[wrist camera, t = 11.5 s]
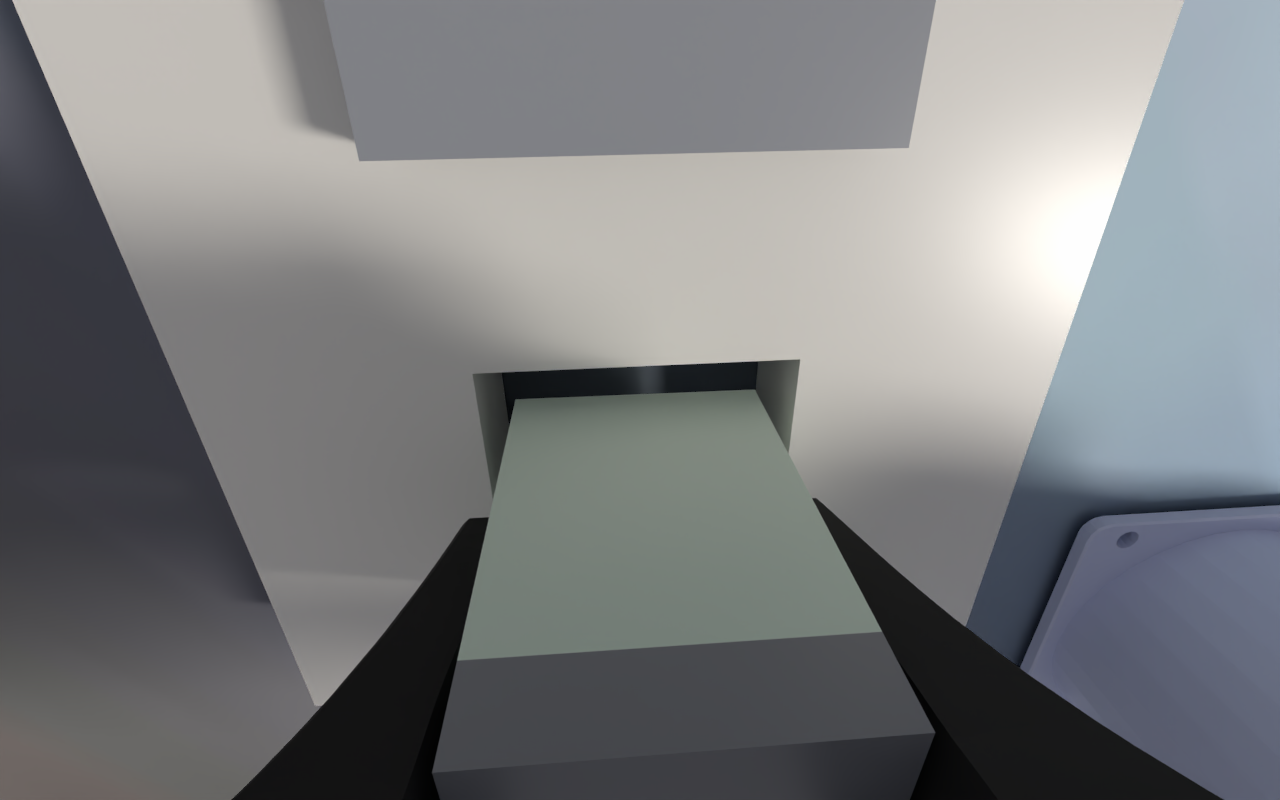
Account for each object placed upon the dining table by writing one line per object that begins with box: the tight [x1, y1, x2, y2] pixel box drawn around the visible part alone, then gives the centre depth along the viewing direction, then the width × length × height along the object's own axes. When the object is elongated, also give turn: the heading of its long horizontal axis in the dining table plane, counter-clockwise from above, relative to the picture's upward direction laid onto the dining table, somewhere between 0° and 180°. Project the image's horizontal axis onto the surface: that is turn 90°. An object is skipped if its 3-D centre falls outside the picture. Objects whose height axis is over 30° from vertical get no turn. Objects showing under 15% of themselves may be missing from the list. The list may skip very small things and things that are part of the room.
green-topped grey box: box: [432, 390, 935, 800], centre depth 8 cm, size 4×4×6 cm
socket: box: [12, 0, 1184, 706], centre depth 10 cm, size 14×16×2 cm
